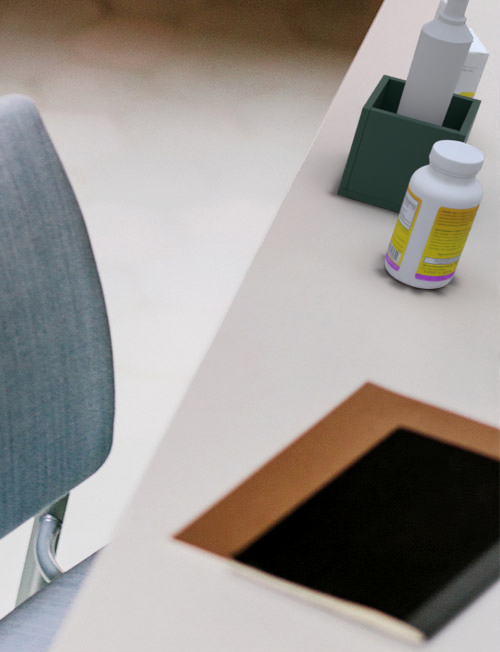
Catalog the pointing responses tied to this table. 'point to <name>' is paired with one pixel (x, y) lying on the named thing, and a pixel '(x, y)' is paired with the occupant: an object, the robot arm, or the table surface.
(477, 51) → the ink box
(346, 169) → the bin
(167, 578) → the table surface
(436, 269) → the supplement bottle
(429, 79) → the bottle
